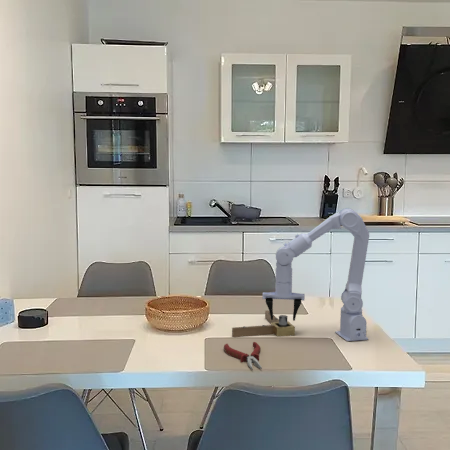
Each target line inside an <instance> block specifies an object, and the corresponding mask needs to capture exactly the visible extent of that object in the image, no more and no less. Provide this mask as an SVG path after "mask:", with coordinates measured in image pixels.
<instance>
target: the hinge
mask: <svg viewBox="0 0 450 450" xmlns="http://www.w3.org/2000/svg"><path fill="white" fill-rule="evenodd" d="M264 319H265V320H266V321H267V322H269V324H266V325H265V324H262V325H251V326H238V327H231V337H232V338H241V337H254V336H264V335H265V336H266V335H267V336H268V335H269V336H270V335H275V336H276V337H288V336H290V335H291V336H296V334H295V333H296V326H295V325H293V324H292V323H291V322H290V321H288V320H287V327H279V317H278V318H277V316H275V314H273V320H271V316H270V312H269V310H264Z"/></svg>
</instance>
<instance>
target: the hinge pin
mask: <svg viewBox="0 0 450 450" xmlns="http://www.w3.org/2000/svg"><path fill="white" fill-rule="evenodd" d="M278 319H279V327H287V321H288V315H286V314H281V315H278Z"/></svg>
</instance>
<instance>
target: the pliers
mask: <svg viewBox="0 0 450 450" xmlns="http://www.w3.org/2000/svg"><path fill="white" fill-rule="evenodd" d="M252 347H254V349H253V351H251V353H250V355H249V354H248V353H245V352H242V351H240V350H237V349H235V348H232V347H230V345H229V343H225V344H224V345H223V350H224V352H225V354H227V355H228V356H230V357H233V358H235V359H238V360H240V361H239V362H240V363H247V366H248V368H249V369H251V370H253V365H254V366H255V367H257V368H259V369H261V370H262V369H263V366H262V365H261V364H260V362H259V361H260V354H261V346H260V345H259V343H257V342H256V341H253V342H252ZM252 363H254V364H252Z"/></svg>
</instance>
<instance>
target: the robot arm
mask: <svg viewBox="0 0 450 450" xmlns="http://www.w3.org/2000/svg"><path fill="white" fill-rule="evenodd" d="M341 226H342V227H343V228H345V229H346V230H347V231H349V233H350V234H351V235H352V236H353V245H352V248H351V249H352V250H351V257H350V262H349V269H348V276H347V280H346V281H347V282H346V283H345V289H344V290H343V292H342V293H341V296H340V300H341V302H342V306H341V307H340V320H339V321H340V322H339V323H340V327H339V330H336V331H335V332H334V333H336V334H337V335H338V336H339V337H341V338H342V339H344V340H345V341H346V342H354V341H367V340H369V338H368V337H367V323H368V322H367V320H366V318H365V316H363V309H362V308H363V306H364V302H363V299H362V292H363V290H362V284H363V278H364V272H365V265H366V259H367V253H368V247H369V246H368V245H369V240H370V232H369V230H368V228H367V226H366V224H365V222H364V219H363V217H361V215H360V214H358V212H356V211H355V210H353V209H352V208H350V207H345V208H341V210H340V211H339V212H335V213H334V214H332V215H331V216H329V217H328V218H327V217H326V219H325V220H324V221H322V222H321V223H320V224H318V225H317V226H315V227H314V228H313V229H312V230H310V231H309V232H307V233H303V232H301V233H300V234H298V233H297V234H295V235H294V238H293V239H291V240H290V241H288V242H285V243H284V244H283V246H280V247H279V248H278V249H277V250H276V252H275V259H276V262H275V266H276V267H275V284H274V285H275V288H274V289H275V290H274V291H270V292H266V291H265V292H264V291H263V292H262V300H265V303H266V304H265V305H266V306H267V308H268V311H269V312H270V316H271V320H273V315H274V311H273V310H274V309H273V308H274V307H273V304H274V303H273V302H274V300H291V301H293V311H292V312H293V313H292V321H293V322H295V321H296V317H297V314H298V310H299V309H300V307H301V305H302V302H303V301H305V300H306V299H305V293H298V292H292V291H293V267H292V266H293V265H292V262H293V261H294V258H297V257H299V256H300V255H302V254H303V253H305V252H306V251H307V250H309V249H310V248H312V245H313V242H314V241H316V240H318V238H320V237H321V236H322V237H323V235H325V234H327V233H328V232H330V231H331V230H341V229H342V227H341Z"/></svg>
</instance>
